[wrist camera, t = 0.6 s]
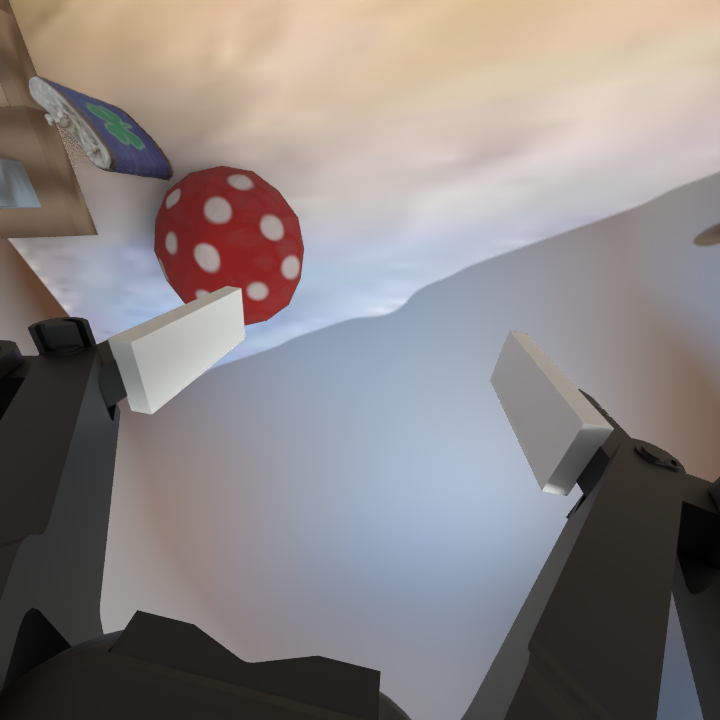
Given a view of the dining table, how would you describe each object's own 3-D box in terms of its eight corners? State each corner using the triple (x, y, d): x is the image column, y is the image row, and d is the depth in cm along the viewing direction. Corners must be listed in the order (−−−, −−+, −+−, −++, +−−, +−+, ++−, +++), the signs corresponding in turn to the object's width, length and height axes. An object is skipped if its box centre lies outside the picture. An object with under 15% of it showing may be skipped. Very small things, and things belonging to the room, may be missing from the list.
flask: (105, 118, 36) (-2, 80, 26) (117, 98, 35) (10, 51, 25) (166, 186, 38) (89, 174, 29) (179, 169, 37) (103, 151, 28)
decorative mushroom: (187, 211, 39) (77, 206, 26) (287, 150, 35) (217, 106, 21) (250, 318, 45) (187, 360, 31) (343, 277, 40) (316, 305, 27)
